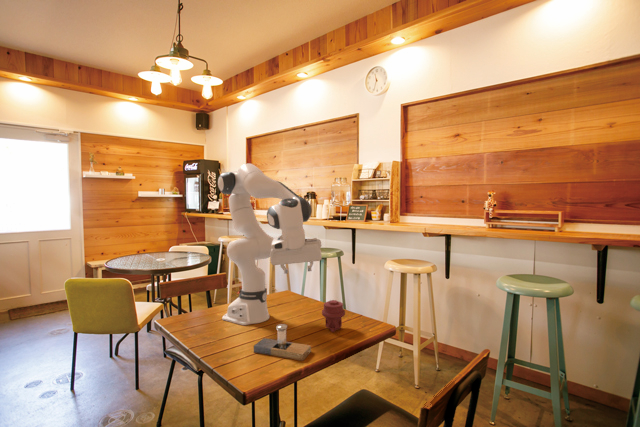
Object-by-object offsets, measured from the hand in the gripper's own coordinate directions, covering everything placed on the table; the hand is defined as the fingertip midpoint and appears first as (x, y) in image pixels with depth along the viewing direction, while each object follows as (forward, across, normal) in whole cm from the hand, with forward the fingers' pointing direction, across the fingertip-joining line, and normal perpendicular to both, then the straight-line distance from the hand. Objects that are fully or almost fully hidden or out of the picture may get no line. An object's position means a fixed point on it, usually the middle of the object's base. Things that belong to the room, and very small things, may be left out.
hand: (298, 271), depth 134 cm
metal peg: (+23, +8, +18) cm, 30 cm away
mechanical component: (+31, -12, -2) cm, 33 cm away
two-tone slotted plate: (+23, +8, +18) cm, 30 cm away
